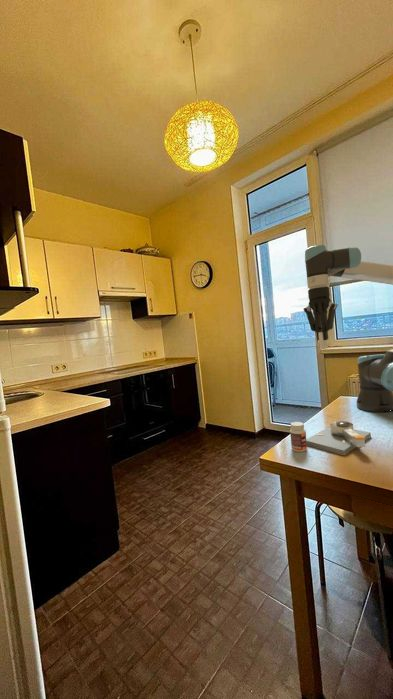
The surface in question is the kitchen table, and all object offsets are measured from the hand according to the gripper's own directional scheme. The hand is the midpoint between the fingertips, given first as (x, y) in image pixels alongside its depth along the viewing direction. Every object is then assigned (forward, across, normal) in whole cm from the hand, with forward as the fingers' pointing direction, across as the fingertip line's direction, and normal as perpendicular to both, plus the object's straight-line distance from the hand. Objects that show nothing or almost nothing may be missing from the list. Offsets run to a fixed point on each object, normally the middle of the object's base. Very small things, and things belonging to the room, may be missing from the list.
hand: (323, 348), depth 112 cm
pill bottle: (+30, +5, -28) cm, 41 cm away
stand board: (+29, +11, -15) cm, 35 cm away
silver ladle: (+28, +15, -15) cm, 35 cm away
